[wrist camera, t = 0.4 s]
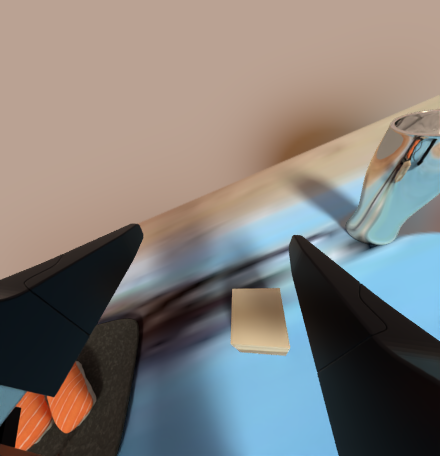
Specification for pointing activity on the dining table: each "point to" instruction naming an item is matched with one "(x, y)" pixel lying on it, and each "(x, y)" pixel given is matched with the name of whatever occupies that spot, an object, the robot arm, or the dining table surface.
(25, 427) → the sushi plate
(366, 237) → the beer glass
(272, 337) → the birch block
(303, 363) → the dining table surface
